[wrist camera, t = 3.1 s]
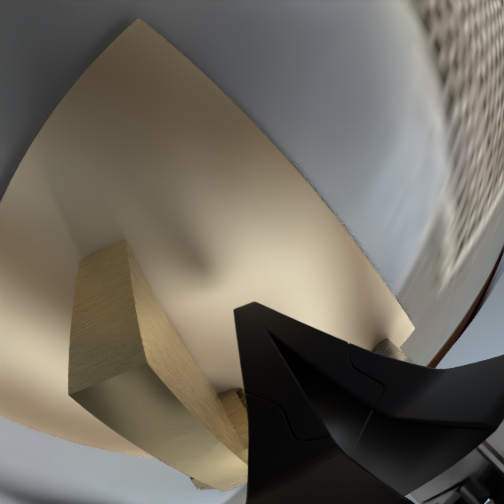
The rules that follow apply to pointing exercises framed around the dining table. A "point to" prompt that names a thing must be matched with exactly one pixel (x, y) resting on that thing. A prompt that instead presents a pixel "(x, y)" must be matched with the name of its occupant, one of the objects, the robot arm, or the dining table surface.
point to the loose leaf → (146, 373)
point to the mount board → (166, 231)
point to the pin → (391, 351)
